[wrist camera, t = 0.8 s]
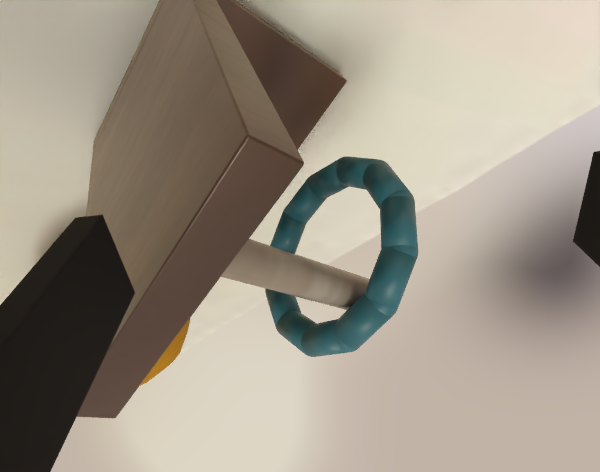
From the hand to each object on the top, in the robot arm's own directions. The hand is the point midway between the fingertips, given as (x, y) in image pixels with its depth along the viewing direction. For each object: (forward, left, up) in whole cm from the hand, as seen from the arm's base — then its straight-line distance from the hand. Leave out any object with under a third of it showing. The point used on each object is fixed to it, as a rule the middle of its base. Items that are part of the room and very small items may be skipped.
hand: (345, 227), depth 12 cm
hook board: (+4, -6, -24) cm, 25 cm away
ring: (+9, -6, -9) cm, 14 cm away
